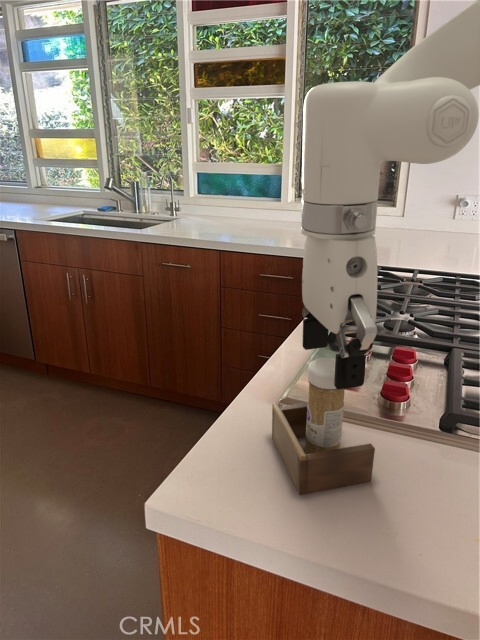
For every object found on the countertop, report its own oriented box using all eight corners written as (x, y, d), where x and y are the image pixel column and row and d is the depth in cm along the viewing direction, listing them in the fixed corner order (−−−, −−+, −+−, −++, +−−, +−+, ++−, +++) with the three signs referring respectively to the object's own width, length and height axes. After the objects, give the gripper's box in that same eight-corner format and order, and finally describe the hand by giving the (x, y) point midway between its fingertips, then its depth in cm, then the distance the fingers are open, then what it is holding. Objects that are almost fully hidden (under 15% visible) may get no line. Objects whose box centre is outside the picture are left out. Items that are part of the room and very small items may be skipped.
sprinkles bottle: (298, 451, 60) (301, 359, 55) (329, 443, 62) (335, 353, 57) (314, 474, 56) (319, 377, 51) (347, 465, 58) (355, 370, 53)
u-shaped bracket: (333, 428, 65) (336, 394, 63) (371, 482, 55) (375, 444, 53) (271, 438, 63) (272, 403, 61) (299, 496, 53) (300, 456, 51)
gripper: (419, 232, 40) (399, 400, 47) (337, 203, 56) (331, 332, 62) (339, 239, 39) (330, 411, 45) (277, 207, 54) (277, 339, 61)
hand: (330, 365), depth 54 cm, fingers open, 9 cm apart
